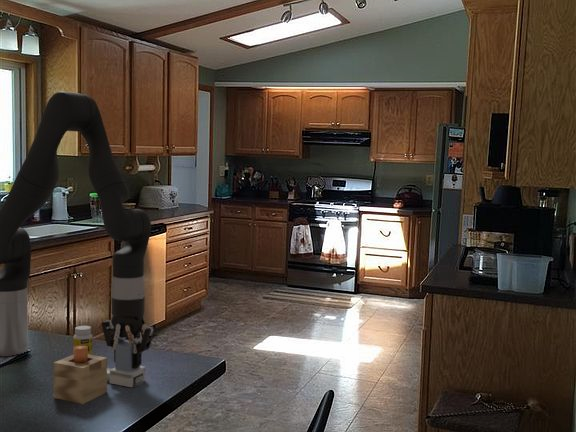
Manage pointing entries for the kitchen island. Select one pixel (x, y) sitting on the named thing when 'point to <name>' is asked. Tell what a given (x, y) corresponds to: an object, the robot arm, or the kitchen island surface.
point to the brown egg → (80, 354)
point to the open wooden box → (80, 379)
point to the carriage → (124, 366)
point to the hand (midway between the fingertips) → (127, 365)
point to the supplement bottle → (83, 338)
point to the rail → (136, 380)
